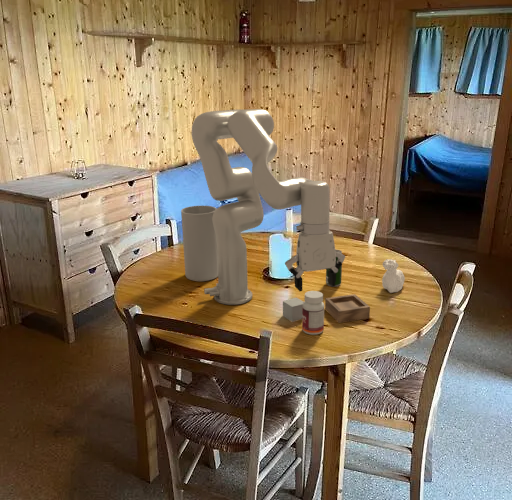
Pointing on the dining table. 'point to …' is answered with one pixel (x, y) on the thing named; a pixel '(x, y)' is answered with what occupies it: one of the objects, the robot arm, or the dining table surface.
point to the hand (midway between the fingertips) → (315, 287)
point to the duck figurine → (392, 276)
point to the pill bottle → (313, 313)
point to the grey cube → (293, 309)
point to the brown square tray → (347, 308)
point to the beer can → (338, 274)
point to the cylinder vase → (199, 243)
